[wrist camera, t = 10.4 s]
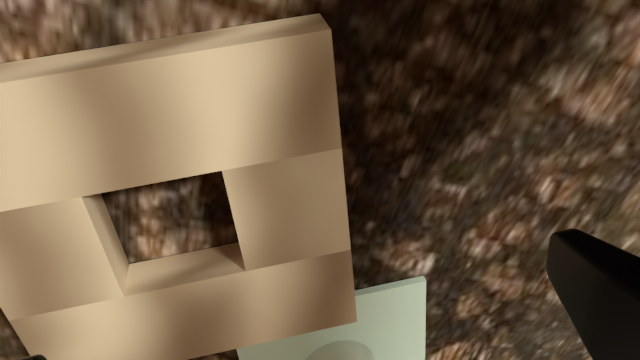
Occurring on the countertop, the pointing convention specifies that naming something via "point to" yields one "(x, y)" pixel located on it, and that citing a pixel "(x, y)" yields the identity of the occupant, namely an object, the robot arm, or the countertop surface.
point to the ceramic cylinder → (343, 351)
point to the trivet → (364, 327)
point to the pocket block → (168, 164)
